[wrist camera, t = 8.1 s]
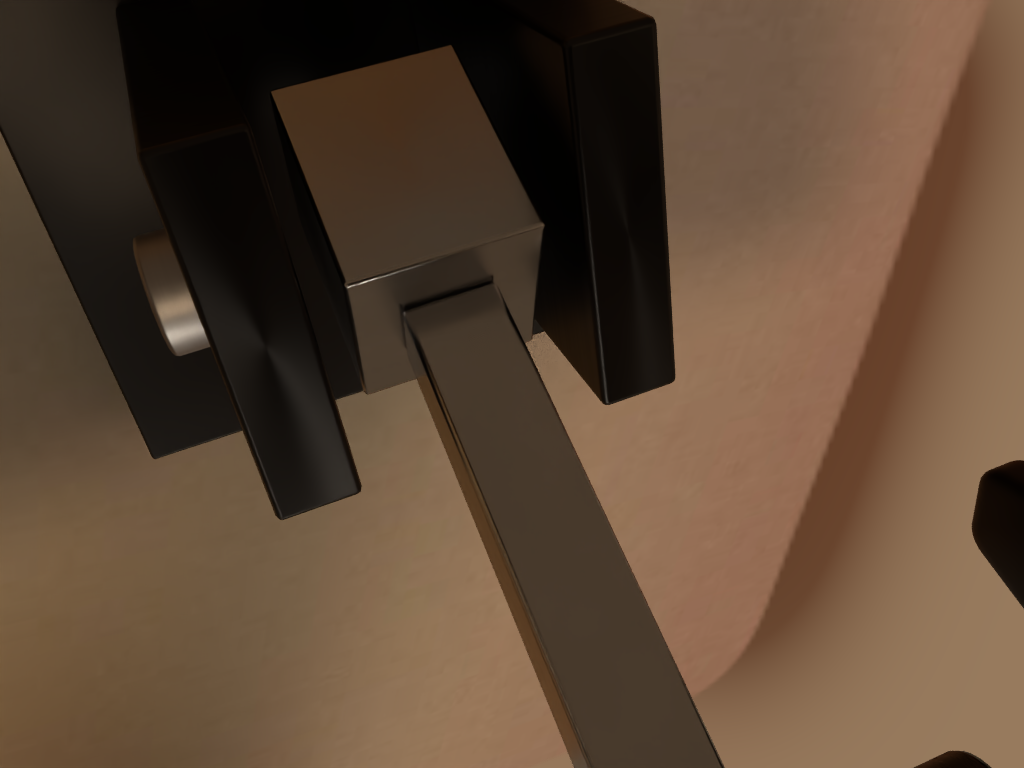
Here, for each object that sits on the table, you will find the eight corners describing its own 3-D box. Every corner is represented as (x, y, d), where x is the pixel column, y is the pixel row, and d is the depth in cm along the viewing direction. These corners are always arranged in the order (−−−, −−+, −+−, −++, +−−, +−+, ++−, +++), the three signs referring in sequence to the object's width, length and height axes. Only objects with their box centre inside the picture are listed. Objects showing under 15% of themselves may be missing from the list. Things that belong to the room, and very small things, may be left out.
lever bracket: (597, 279, 20) (810, 496, 14) (149, 423, 18) (183, 743, 12) (534, -327, 14) (854, -381, 8) (-140, -210, 12) (-338, -172, 6)
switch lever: (972, 885, 10) (1116, 879, 7) (443, 1155, 8) (434, 1237, 6) (565, 145, 14) (583, 8, 12) (175, 257, 13) (116, 128, 11)
